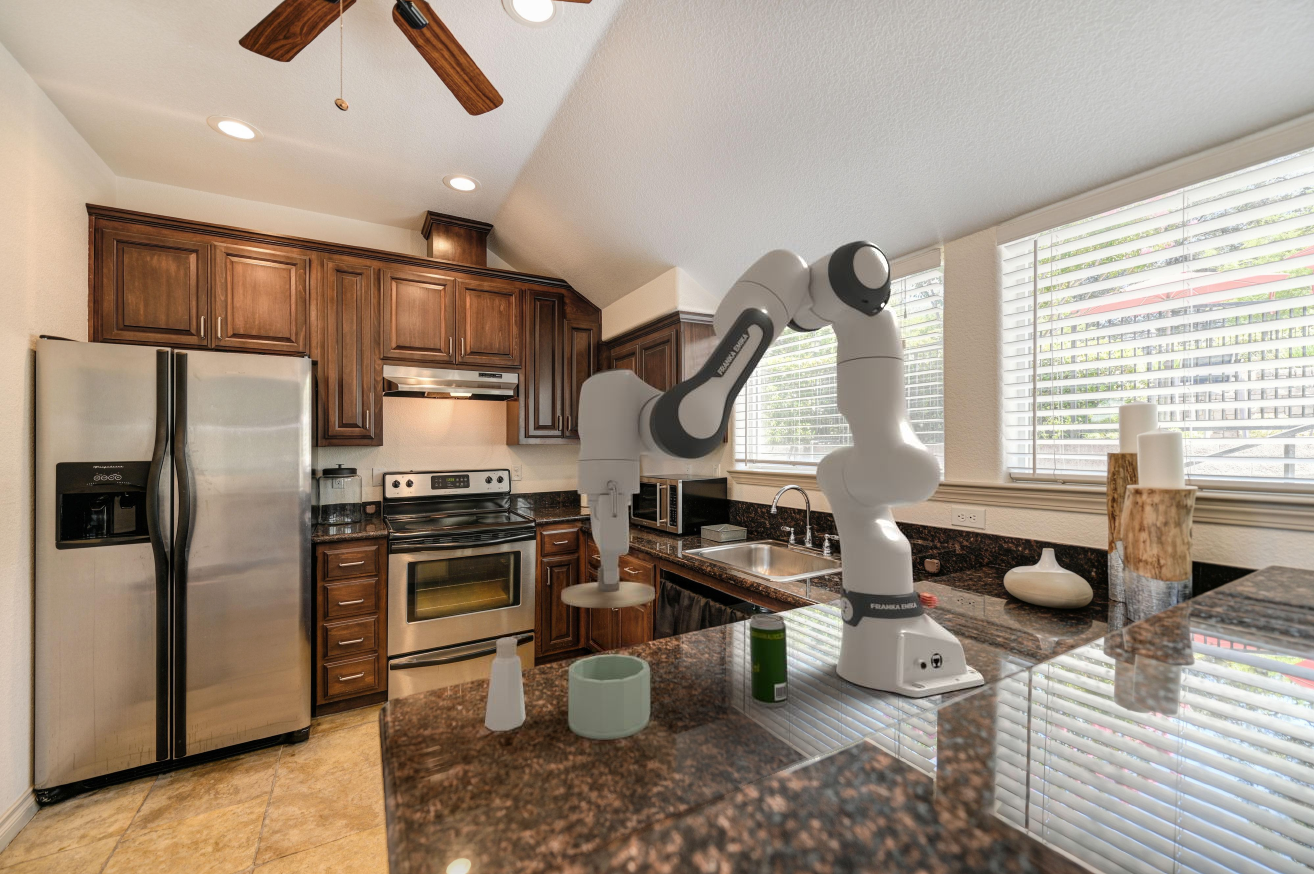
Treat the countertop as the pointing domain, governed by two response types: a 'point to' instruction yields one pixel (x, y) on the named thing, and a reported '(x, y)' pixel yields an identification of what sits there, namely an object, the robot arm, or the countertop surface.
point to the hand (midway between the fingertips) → (608, 580)
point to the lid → (607, 593)
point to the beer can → (768, 660)
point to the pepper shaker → (505, 689)
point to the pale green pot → (609, 696)
